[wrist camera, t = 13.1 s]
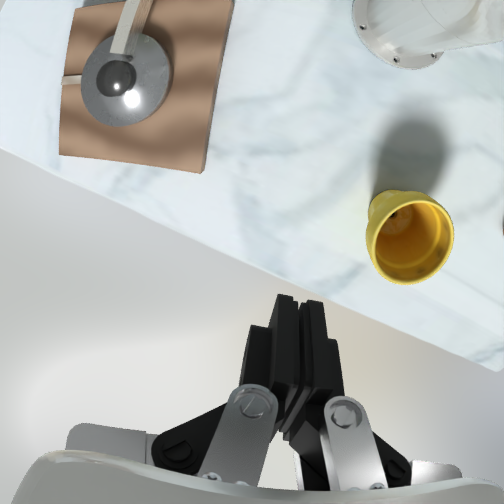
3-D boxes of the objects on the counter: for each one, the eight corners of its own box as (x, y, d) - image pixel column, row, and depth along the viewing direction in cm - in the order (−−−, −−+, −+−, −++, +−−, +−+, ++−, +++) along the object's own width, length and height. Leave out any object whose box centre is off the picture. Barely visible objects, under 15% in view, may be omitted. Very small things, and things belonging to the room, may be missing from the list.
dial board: (83, 10, 28) (74, 8, 26) (234, 4, 28) (231, -1, 26) (66, 151, 38) (57, 155, 36) (204, 170, 38) (199, 174, 36)
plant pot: (340, 197, 38) (355, 228, 30) (407, 161, 35) (441, 183, 26) (371, 258, 42) (389, 299, 33) (432, 226, 38) (462, 260, 30)
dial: (159, 133, 34) (144, 138, 30) (82, 116, 34) (62, 121, 30) (208, -24, 24) (199, -37, 20) (122, -27, 24) (105, -37, 20)
